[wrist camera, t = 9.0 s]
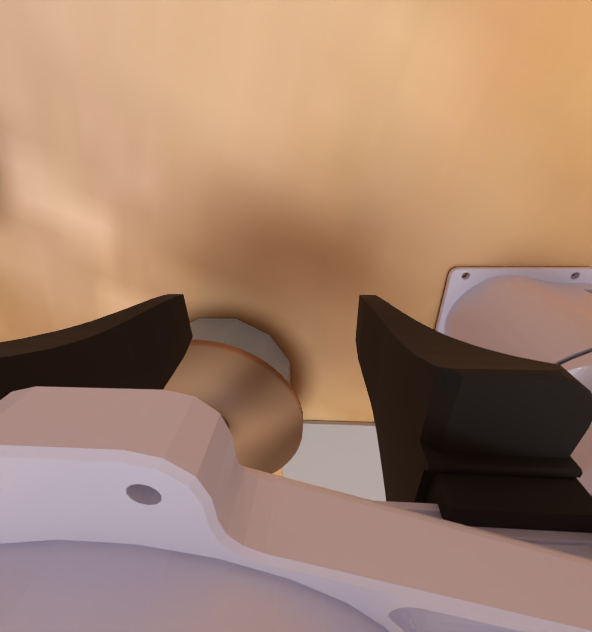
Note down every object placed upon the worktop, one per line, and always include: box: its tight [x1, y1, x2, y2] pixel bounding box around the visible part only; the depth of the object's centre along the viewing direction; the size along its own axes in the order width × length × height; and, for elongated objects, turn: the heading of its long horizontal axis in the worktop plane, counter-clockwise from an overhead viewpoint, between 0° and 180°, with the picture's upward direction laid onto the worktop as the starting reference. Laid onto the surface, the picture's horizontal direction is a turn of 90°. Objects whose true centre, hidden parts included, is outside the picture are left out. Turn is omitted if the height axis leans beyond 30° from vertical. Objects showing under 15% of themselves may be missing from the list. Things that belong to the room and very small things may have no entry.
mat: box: [282, 420, 386, 501], centre depth 31 cm, size 17×17×1 cm
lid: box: [163, 340, 303, 474], centre depth 20 cm, size 14×14×4 cm
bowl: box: [190, 318, 291, 385], centre depth 24 cm, size 11×11×4 cm
